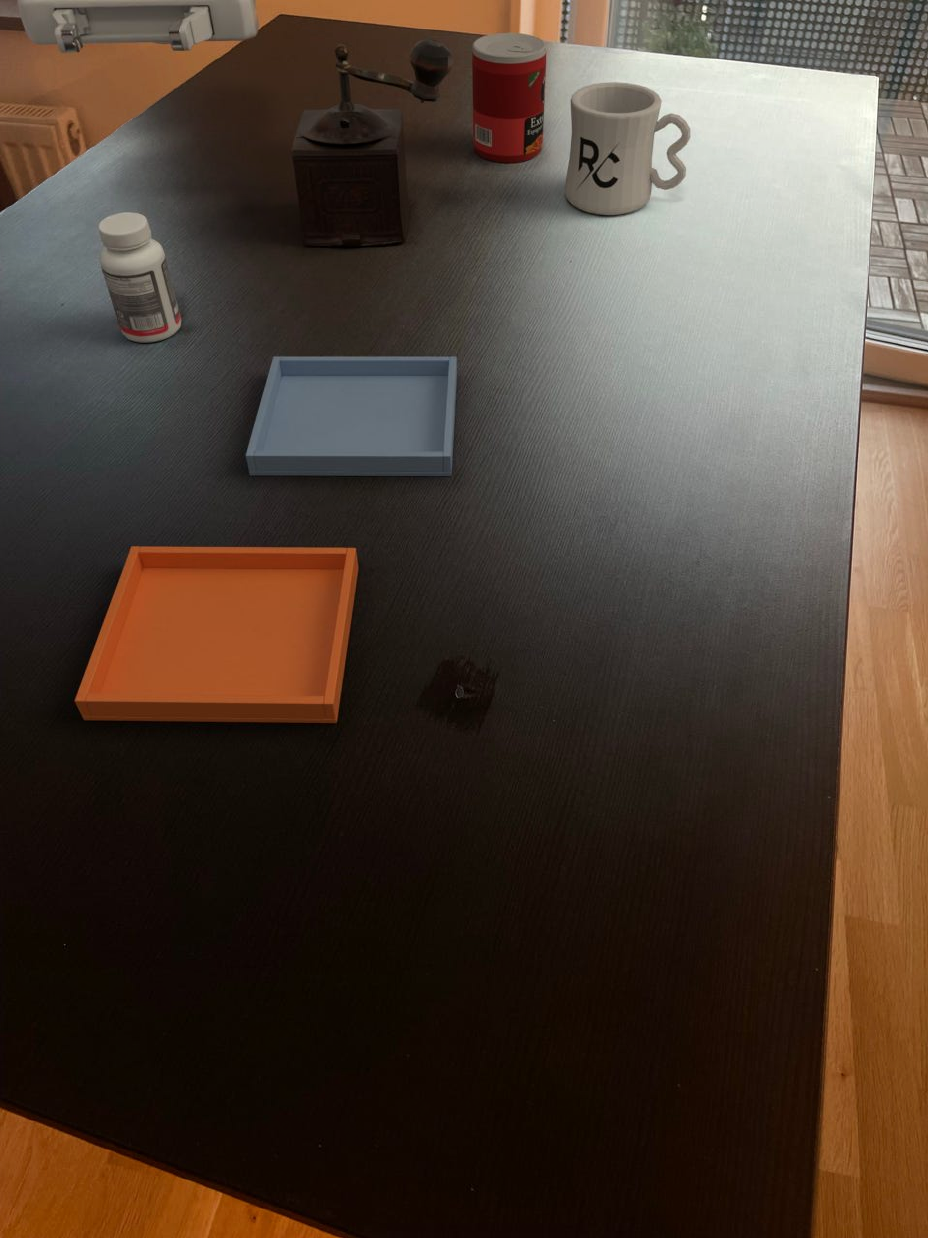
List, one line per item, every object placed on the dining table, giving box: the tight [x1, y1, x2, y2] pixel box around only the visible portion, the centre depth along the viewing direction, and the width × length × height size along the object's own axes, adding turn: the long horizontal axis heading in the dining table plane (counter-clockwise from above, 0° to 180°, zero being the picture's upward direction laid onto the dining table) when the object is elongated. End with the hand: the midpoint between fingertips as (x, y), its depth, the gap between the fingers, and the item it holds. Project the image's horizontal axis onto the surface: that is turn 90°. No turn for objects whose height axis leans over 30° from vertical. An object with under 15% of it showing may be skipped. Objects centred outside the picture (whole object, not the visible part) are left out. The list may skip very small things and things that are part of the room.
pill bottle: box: [98, 211, 182, 344], centre depth 86 cm, size 5×5×10 cm
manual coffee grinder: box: [290, 38, 454, 248], centre depth 96 cm, size 16×11×18 cm
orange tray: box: [74, 545, 359, 724], centre depth 63 cm, size 15×13×2 cm
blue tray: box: [245, 355, 458, 477], centre depth 78 cm, size 15×13×2 cm
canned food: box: [471, 32, 547, 164], centre depth 110 cm, size 8×8×11 cm
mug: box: [564, 81, 691, 216], centre depth 101 cm, size 12×9×10 cm
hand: (122, 41), depth 83 cm, fingers open, 8 cm apart
